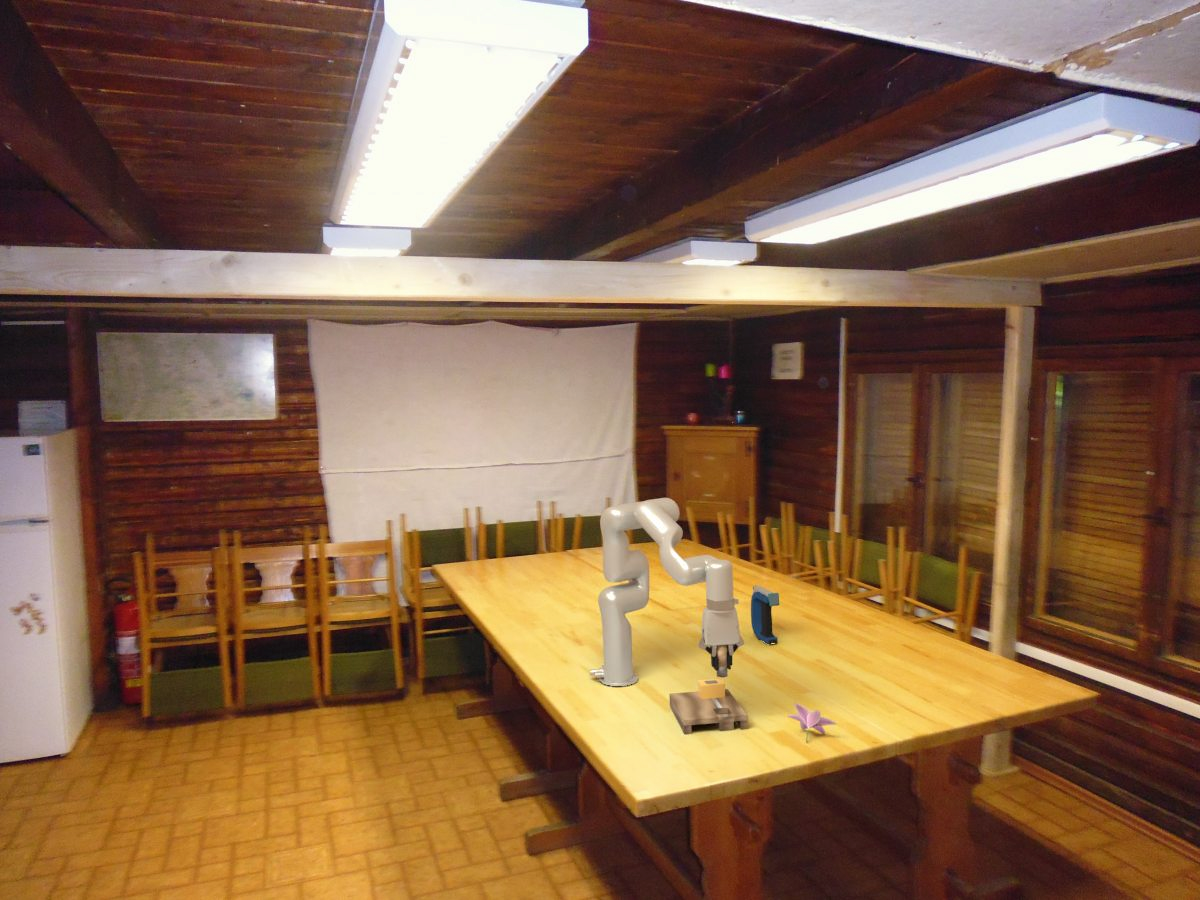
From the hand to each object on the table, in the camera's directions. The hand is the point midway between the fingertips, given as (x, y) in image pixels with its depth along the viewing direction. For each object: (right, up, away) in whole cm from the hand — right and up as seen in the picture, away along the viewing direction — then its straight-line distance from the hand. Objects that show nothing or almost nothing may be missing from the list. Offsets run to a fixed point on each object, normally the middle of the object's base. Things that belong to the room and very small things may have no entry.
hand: (721, 667), depth 229 cm
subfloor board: (-3, -16, +7) cm, 18 cm away
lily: (+23, -17, -8) cm, 30 cm away
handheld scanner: (+28, -10, +76) cm, 81 cm away
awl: (0, -2, 0) cm, 2 cm away
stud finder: (-1, -12, +13) cm, 17 cm away
